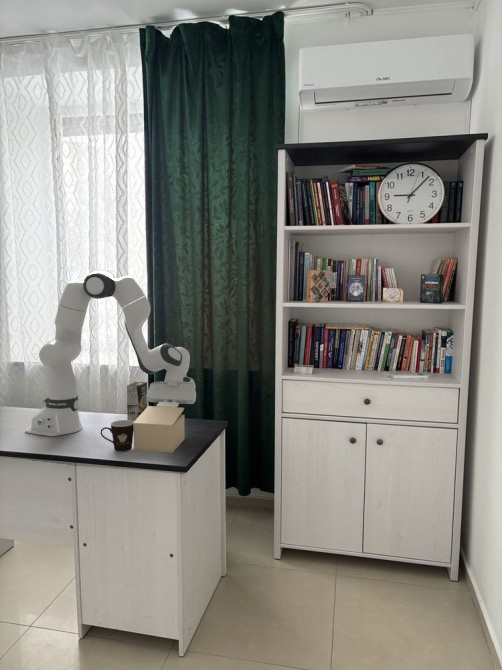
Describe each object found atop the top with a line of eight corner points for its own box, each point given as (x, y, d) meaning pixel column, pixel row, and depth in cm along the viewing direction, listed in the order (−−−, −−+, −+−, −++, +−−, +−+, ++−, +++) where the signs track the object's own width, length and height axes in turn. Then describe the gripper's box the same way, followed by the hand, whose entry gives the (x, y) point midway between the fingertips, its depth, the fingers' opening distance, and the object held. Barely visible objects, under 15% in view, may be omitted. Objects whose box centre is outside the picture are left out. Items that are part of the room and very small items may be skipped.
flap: (133, 424, 189) (133, 421, 189) (151, 403, 208) (151, 401, 208) (172, 426, 187) (171, 423, 187) (186, 405, 206) (186, 403, 206)
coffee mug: (138, 446, 195) (138, 420, 194) (128, 453, 187) (127, 427, 185) (111, 443, 198) (110, 418, 196) (99, 451, 189) (98, 425, 188)
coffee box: (140, 421, 228) (139, 386, 226) (126, 420, 229) (126, 385, 227) (148, 415, 237) (147, 381, 235) (135, 414, 238) (134, 381, 236)
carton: (133, 450, 190) (133, 424, 189) (148, 436, 206) (148, 412, 205) (172, 452, 188) (172, 426, 187) (184, 438, 204) (184, 414, 203)
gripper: (149, 377, 213) (141, 406, 205) (196, 379, 211) (190, 408, 202) (153, 385, 218) (145, 413, 210) (199, 387, 215) (193, 416, 207)
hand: (168, 411), depth 206 cm, fingers closed, pressing on flap
